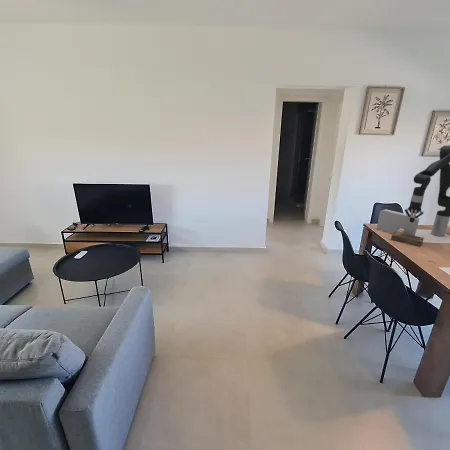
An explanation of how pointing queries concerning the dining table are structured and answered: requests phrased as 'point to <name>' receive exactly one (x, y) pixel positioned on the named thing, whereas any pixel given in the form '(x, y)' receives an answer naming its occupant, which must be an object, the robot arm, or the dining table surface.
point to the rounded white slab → (396, 222)
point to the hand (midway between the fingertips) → (411, 222)
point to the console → (408, 239)
